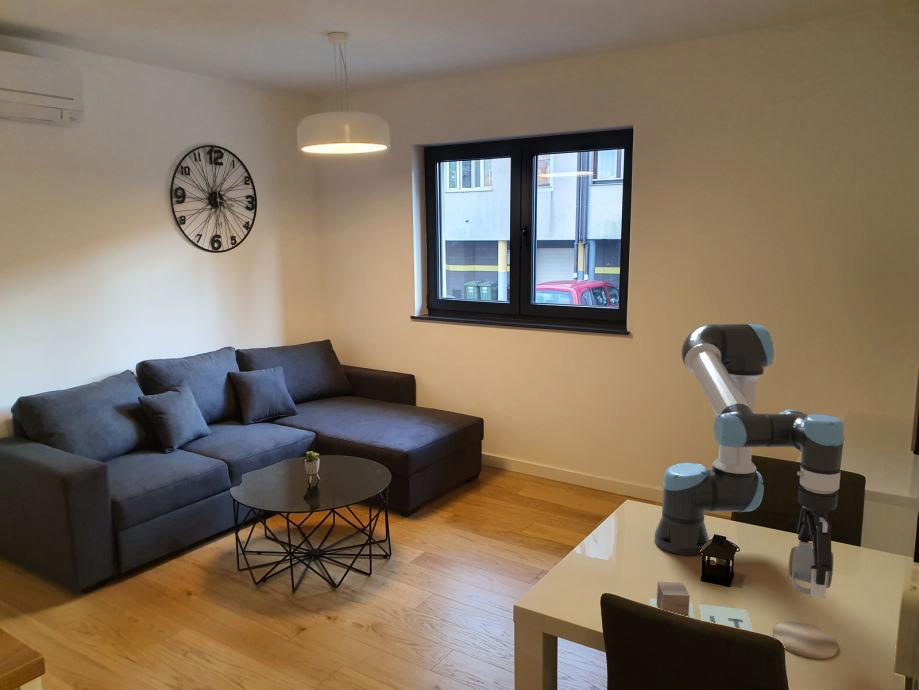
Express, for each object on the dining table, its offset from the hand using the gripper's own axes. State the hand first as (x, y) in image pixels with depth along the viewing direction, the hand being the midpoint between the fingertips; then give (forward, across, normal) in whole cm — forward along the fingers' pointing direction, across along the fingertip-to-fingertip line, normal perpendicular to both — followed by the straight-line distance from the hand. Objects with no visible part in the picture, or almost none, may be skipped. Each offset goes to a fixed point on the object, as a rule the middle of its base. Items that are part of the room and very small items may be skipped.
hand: (810, 582), depth 148 cm
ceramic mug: (0, 0, 0) cm, 1 cm away
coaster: (+14, 0, 0) cm, 14 cm away
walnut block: (+14, -5, -28) cm, 32 cm away
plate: (+14, -5, -28) cm, 32 cm away
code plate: (+14, -3, -16) cm, 22 cm away
